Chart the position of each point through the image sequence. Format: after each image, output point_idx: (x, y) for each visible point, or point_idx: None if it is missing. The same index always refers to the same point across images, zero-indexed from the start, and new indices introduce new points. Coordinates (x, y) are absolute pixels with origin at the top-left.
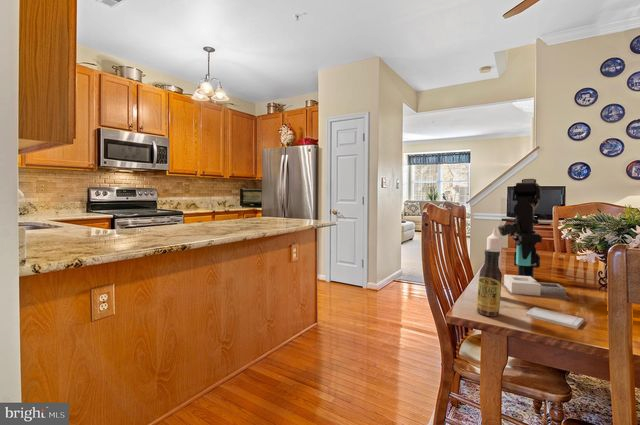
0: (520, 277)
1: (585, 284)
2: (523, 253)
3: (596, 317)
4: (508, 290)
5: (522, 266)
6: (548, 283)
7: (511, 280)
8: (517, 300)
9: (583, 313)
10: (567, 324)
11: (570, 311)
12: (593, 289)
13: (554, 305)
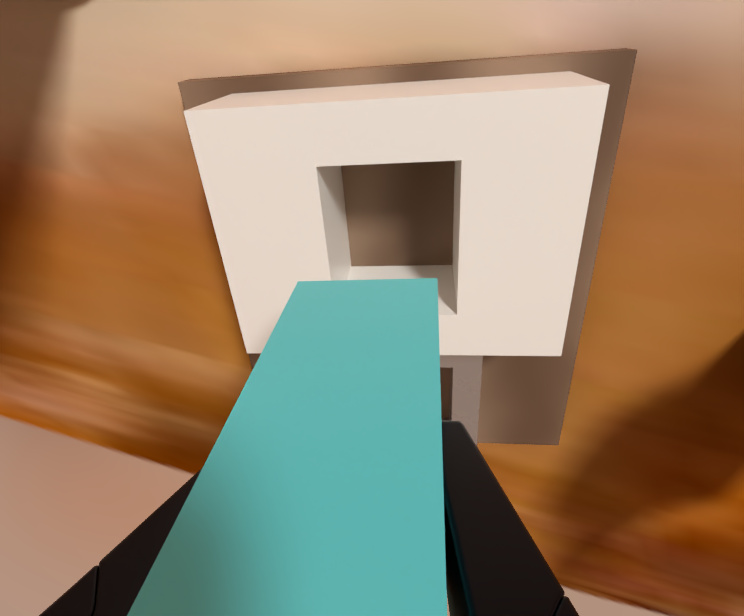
0: (476, 254)
1: (718, 588)
2: (173, 511)
3: (86, 431)
4: (322, 81)
5: None
6: (464, 423)
7: (276, 124)
8: (134, 120)
9: (112, 406)
10: None
11: (104, 367)
12: (605, 578)
13: (168, 327)
